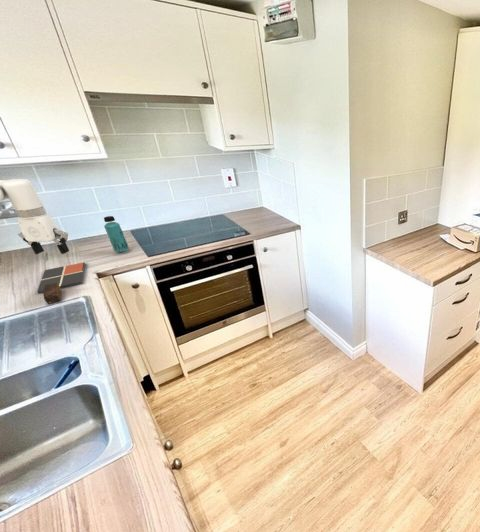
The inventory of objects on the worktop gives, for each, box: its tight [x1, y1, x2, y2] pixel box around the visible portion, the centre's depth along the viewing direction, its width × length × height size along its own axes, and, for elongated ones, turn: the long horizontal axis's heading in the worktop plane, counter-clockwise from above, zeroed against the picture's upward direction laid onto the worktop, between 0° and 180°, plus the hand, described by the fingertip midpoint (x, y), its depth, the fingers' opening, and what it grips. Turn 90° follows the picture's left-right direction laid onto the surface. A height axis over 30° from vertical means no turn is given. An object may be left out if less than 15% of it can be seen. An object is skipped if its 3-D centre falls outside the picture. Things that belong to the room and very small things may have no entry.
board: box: [36, 261, 86, 294], centre depth 148 cm, size 14×24×1 cm, turn 39°
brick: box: [43, 283, 63, 305], centre depth 132 cm, size 11×4×5 cm, turn 41°
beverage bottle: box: [103, 215, 129, 253], centre depth 169 cm, size 6×7×20 cm
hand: (52, 252), depth 131 cm, fingers open, 9 cm apart
